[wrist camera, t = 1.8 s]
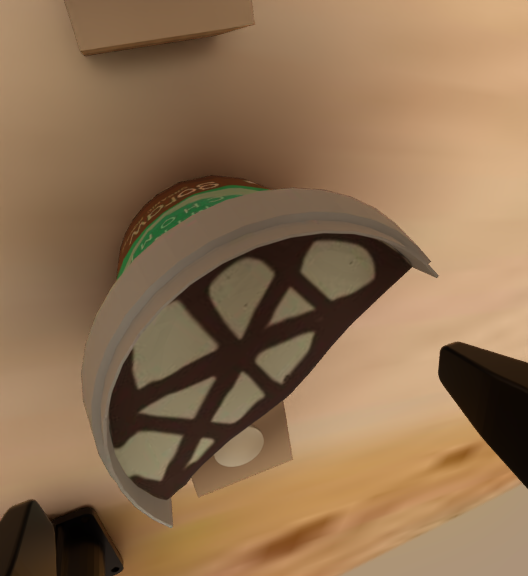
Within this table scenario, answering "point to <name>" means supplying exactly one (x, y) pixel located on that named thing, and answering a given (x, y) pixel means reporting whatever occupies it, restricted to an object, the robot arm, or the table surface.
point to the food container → (224, 319)
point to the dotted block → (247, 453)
